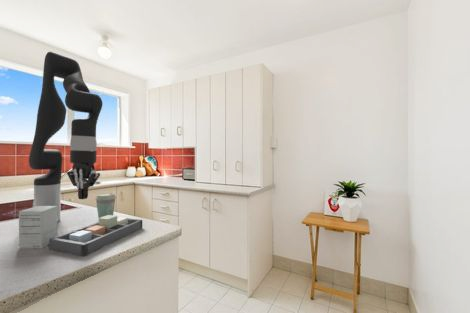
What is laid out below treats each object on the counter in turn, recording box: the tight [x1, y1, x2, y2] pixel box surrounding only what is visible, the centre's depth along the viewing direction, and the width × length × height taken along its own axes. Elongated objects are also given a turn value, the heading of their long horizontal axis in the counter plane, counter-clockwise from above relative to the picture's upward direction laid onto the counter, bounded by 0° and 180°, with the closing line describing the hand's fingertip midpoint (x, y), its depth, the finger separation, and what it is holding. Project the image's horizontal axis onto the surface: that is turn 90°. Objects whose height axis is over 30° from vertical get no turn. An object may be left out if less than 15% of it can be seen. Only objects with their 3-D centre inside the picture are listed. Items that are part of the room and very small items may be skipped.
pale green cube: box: [98, 214, 118, 229], centre depth 83 cm, size 4×4×4 cm
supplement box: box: [18, 206, 59, 250], centre depth 74 cm, size 7×7×13 cm
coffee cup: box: [95, 192, 117, 219], centre depth 102 cm, size 9×8×12 cm
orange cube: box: [85, 225, 105, 235], centre depth 78 cm, size 4×4×4 cm
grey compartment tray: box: [48, 216, 143, 257], centre depth 80 cm, size 15×26×4 cm, turn 164°
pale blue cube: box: [69, 230, 92, 243], centre depth 72 cm, size 4×4×4 cm
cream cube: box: [117, 216, 128, 225], centre depth 88 cm, size 4×4×4 cm
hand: (83, 198), depth 74 cm, fingers closed
